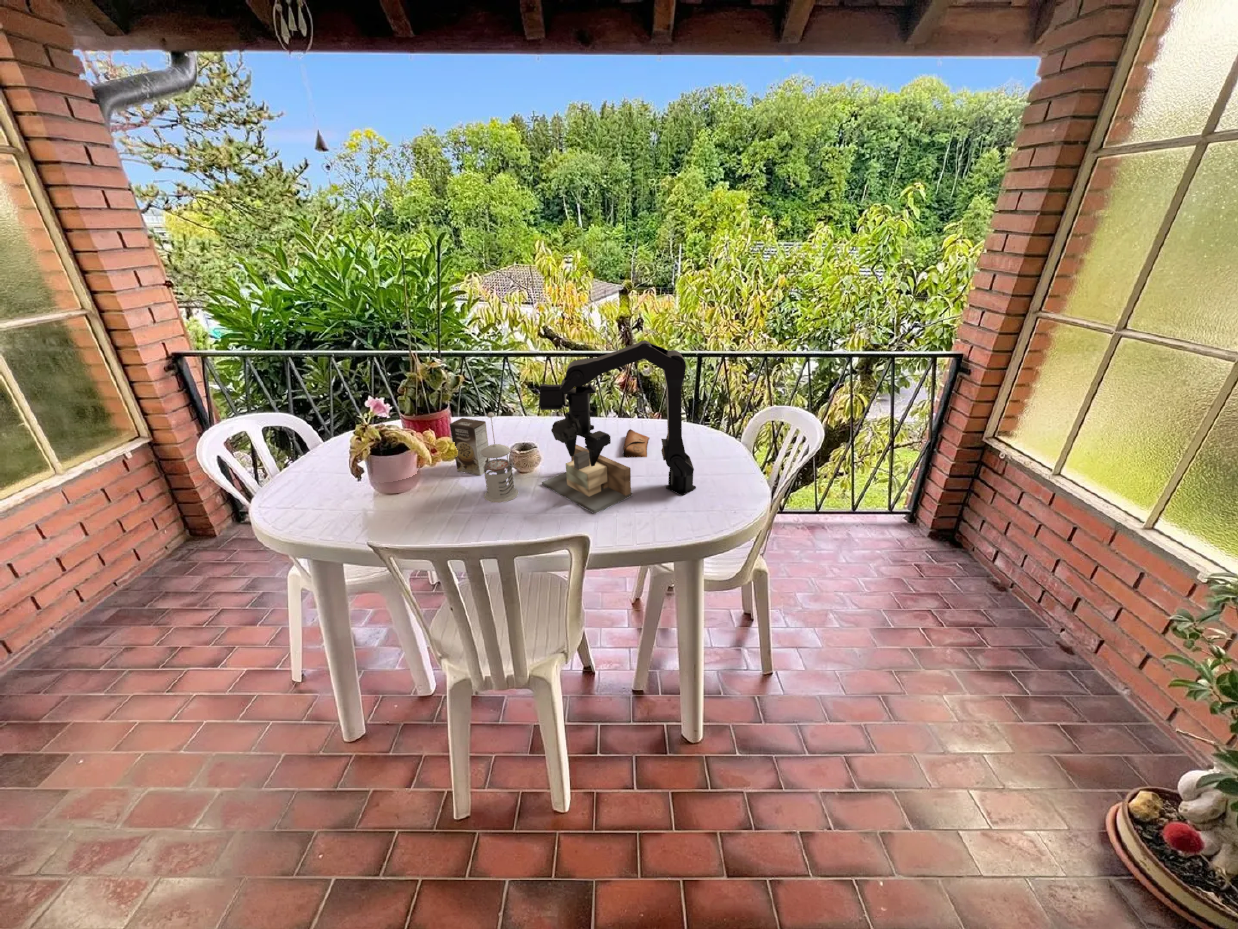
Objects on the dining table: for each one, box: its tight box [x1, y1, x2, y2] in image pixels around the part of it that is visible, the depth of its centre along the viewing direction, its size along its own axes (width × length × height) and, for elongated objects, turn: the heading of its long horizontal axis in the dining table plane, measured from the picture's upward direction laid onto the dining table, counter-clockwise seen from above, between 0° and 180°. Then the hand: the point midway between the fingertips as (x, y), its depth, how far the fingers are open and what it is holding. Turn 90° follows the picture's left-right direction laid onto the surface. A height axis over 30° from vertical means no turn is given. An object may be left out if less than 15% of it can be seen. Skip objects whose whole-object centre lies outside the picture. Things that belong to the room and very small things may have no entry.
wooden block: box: [565, 451, 607, 497], centre depth 149 cm, size 10×7×11 cm
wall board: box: [541, 444, 633, 515], centre depth 149 cm, size 24×14×9 cm, turn 43°
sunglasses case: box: [622, 428, 650, 458], centre depth 179 cm, size 18×7×7 cm
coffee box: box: [449, 417, 491, 476], centre depth 162 cm, size 9×6×16 cm
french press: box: [481, 411, 519, 504], centre depth 145 cm, size 10×12×25 cm
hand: (582, 461), depth 147 cm, fingers open, 9 cm apart
